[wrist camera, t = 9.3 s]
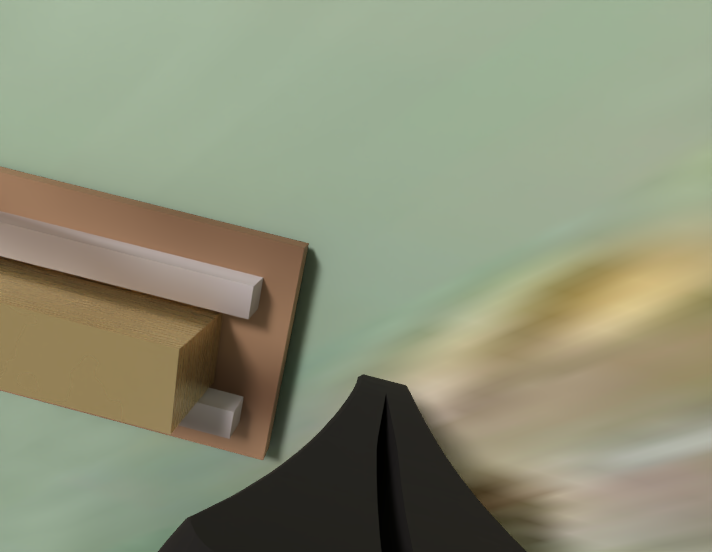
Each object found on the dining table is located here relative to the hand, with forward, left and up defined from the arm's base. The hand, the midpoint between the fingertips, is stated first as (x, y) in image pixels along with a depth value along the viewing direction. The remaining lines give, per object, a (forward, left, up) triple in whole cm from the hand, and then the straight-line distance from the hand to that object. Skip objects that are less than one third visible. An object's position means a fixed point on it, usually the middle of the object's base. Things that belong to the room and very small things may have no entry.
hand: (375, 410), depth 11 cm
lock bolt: (0, +9, -1) cm, 9 cm away
